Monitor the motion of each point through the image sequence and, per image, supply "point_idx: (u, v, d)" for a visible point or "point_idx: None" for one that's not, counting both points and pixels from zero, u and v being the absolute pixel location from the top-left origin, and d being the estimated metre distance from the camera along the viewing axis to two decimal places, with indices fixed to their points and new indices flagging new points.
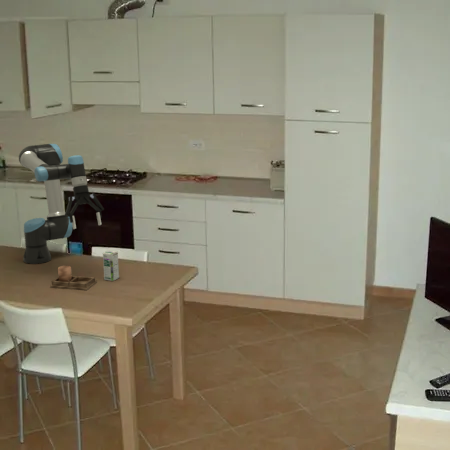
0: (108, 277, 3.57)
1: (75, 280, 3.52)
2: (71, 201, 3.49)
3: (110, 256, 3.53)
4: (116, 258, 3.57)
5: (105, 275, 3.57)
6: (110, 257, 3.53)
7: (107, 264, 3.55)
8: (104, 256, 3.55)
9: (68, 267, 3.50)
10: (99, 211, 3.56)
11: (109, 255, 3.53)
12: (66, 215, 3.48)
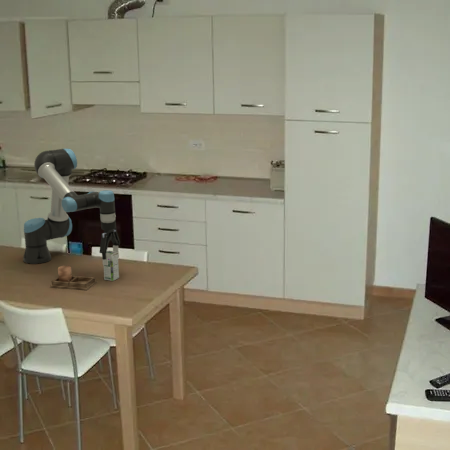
0: (108, 277, 3.57)
1: (75, 280, 3.52)
2: (106, 238, 3.48)
3: (110, 256, 3.53)
4: (116, 258, 3.57)
5: (105, 275, 3.57)
6: (110, 257, 3.53)
7: None
8: None
9: (68, 267, 3.50)
10: (118, 244, 3.62)
11: (109, 255, 3.53)
12: (101, 252, 3.46)
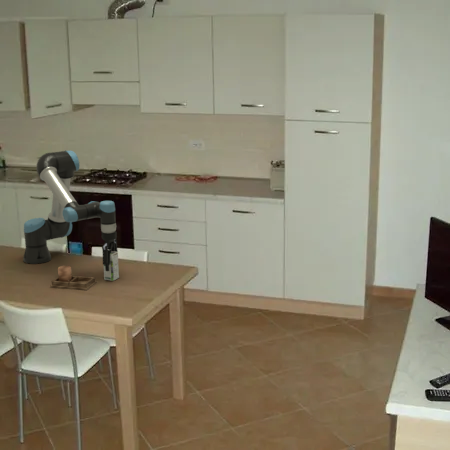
0: None
1: (75, 280, 3.52)
2: (107, 250, 3.50)
3: (110, 256, 3.53)
4: (116, 258, 3.57)
5: (105, 275, 3.57)
6: (110, 257, 3.53)
7: None
8: None
9: (68, 267, 3.50)
10: None
11: None
12: (105, 264, 3.51)
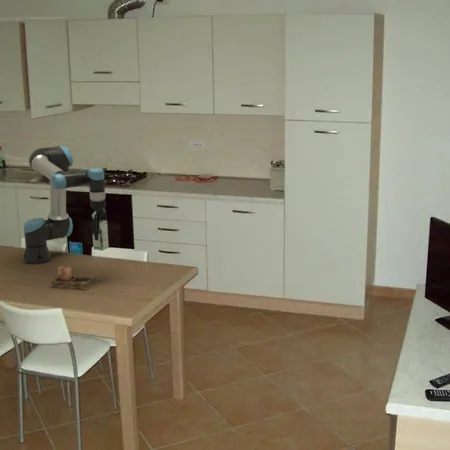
0: (98, 246, 3.50)
1: (75, 280, 3.52)
2: (96, 219, 3.43)
3: (99, 225, 3.46)
4: (105, 227, 3.50)
5: (94, 245, 3.50)
6: (99, 226, 3.46)
7: None
8: None
9: (68, 267, 3.50)
10: None
11: None
12: (94, 233, 3.44)
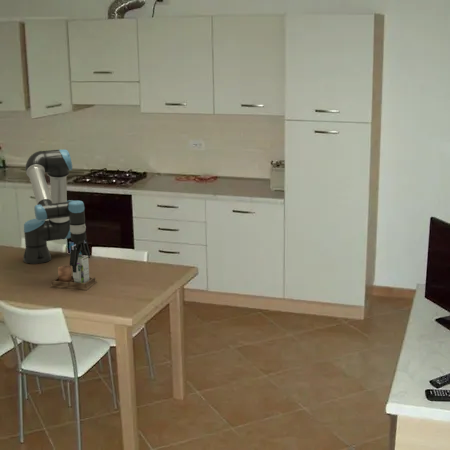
0: (79, 281, 3.47)
1: None
2: (75, 250, 3.39)
3: (80, 260, 3.44)
4: (86, 262, 3.48)
5: (75, 280, 3.48)
6: (80, 261, 3.44)
7: None
8: None
9: (68, 267, 3.50)
10: (88, 257, 3.53)
11: (79, 259, 3.44)
12: (72, 265, 3.39)
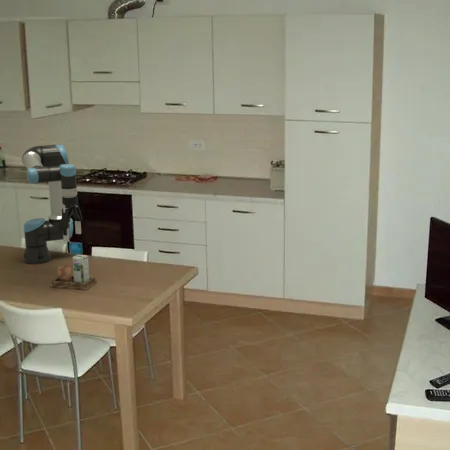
0: (79, 281, 3.47)
1: None
2: (67, 214, 3.38)
3: (80, 260, 3.44)
4: (86, 262, 3.47)
5: (75, 280, 3.48)
6: (80, 261, 3.44)
7: (77, 268, 3.45)
8: (74, 260, 3.45)
9: (68, 267, 3.50)
10: (80, 220, 3.52)
11: (79, 259, 3.44)
12: (62, 228, 3.37)
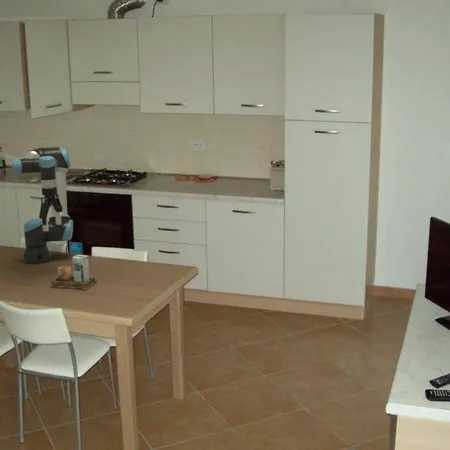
0: (79, 281, 3.47)
1: None
2: (46, 204, 3.48)
3: (80, 260, 3.44)
4: (86, 262, 3.47)
5: (75, 280, 3.48)
6: (80, 261, 3.44)
7: (77, 268, 3.45)
8: (74, 260, 3.45)
9: (68, 267, 3.50)
10: (60, 211, 3.63)
11: (79, 259, 3.44)
12: (41, 218, 3.47)
